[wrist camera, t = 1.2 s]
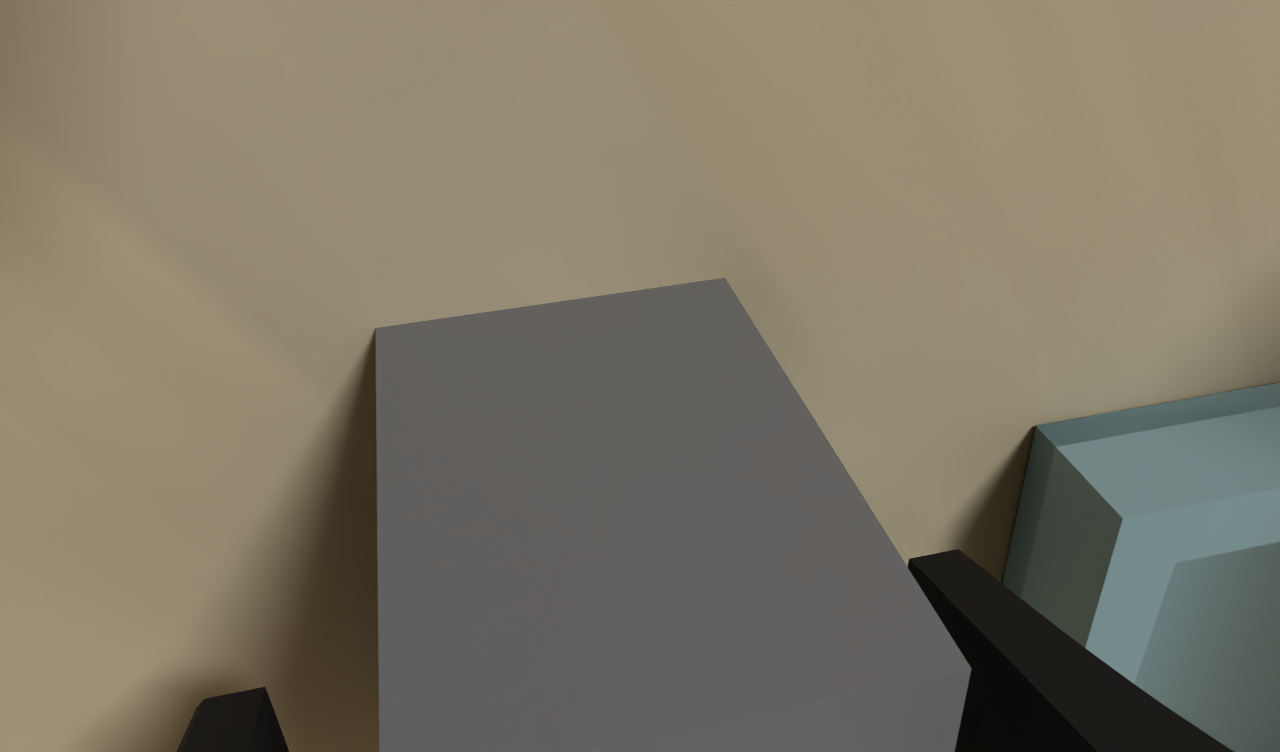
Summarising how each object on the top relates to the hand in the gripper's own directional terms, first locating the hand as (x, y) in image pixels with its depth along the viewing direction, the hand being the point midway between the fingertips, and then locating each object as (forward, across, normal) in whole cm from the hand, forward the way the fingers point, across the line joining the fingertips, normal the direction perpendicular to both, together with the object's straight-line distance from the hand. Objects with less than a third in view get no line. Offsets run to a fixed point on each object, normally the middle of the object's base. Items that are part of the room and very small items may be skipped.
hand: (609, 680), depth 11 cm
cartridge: (+2, 0, 0) cm, 3 cm away
